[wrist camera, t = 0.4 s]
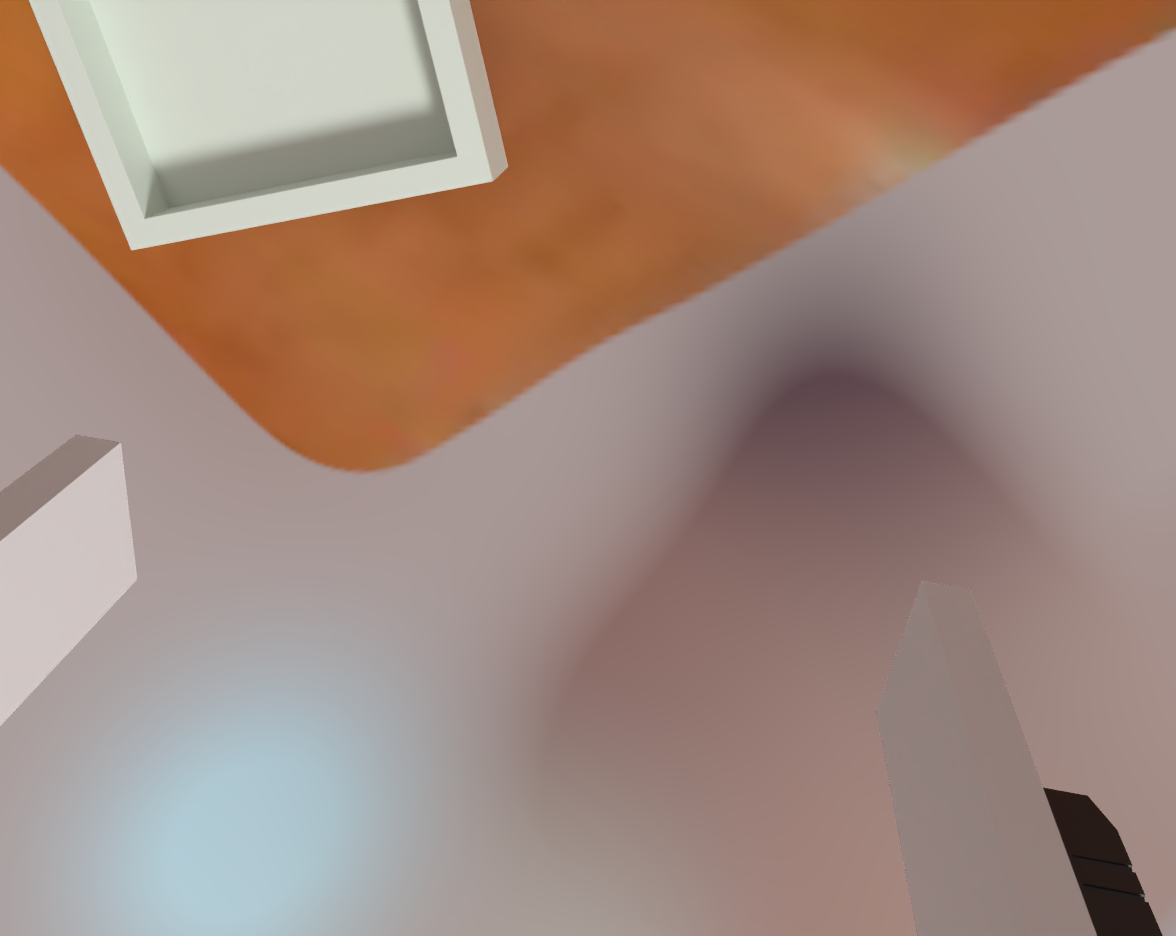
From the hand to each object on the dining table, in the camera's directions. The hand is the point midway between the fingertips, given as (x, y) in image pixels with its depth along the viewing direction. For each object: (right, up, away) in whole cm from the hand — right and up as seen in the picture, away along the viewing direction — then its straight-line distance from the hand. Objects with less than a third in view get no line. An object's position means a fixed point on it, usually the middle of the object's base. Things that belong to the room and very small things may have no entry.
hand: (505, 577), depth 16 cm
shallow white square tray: (-10, +20, +20) cm, 30 cm away
